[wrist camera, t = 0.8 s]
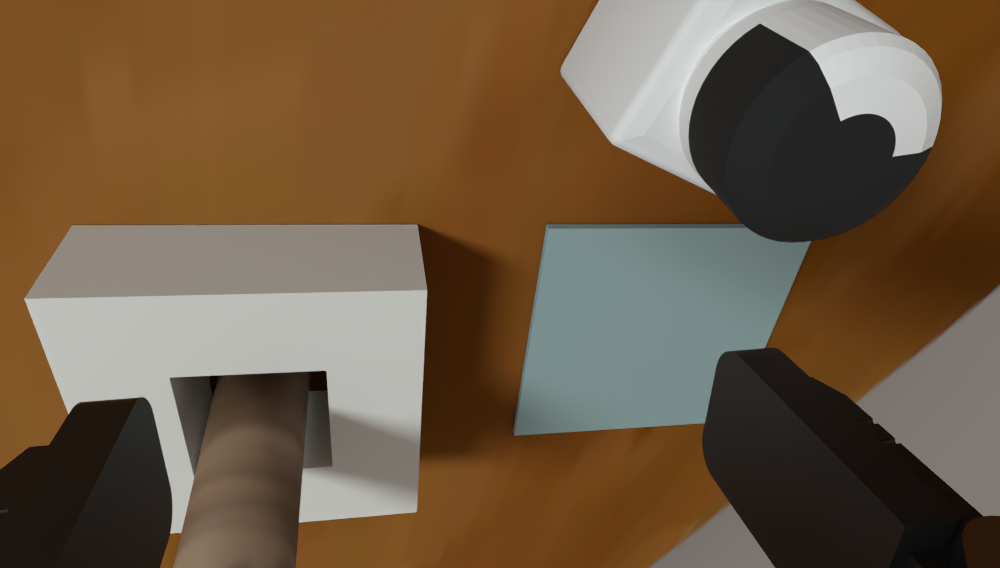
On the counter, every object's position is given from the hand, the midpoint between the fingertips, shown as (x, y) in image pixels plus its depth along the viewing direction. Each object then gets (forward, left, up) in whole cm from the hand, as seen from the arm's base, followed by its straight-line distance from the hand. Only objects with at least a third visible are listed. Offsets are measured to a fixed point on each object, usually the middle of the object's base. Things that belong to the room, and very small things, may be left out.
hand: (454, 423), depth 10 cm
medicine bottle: (-1, +11, -20) cm, 23 cm away
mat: (+15, +14, -20) cm, 29 cm away
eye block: (+15, -6, -20) cm, 25 cm away
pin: (+15, -6, -20) cm, 25 cm away
